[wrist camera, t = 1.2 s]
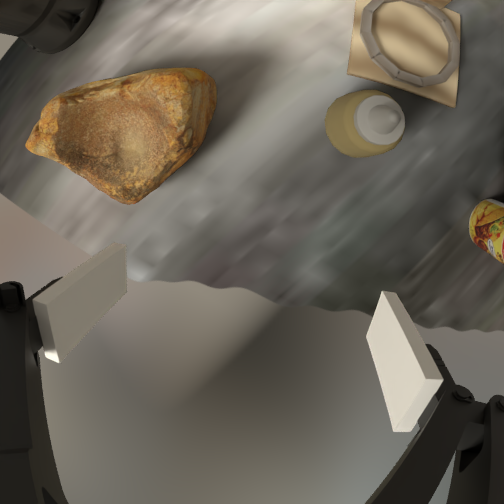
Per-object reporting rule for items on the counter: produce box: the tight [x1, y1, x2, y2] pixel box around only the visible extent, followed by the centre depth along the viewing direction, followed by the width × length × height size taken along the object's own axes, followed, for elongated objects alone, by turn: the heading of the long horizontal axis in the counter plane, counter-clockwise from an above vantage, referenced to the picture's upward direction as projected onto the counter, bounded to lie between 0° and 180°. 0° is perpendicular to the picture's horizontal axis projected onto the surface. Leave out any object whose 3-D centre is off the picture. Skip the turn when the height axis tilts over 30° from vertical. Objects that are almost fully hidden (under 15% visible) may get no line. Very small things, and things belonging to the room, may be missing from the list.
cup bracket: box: [347, 0, 460, 108], centre depth 27 cm, size 16×16×11 cm
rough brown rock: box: [26, 68, 217, 205], centre depth 35 cm, size 23×17×15 cm
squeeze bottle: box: [325, 90, 405, 158], centre depth 30 cm, size 8×8×18 cm
